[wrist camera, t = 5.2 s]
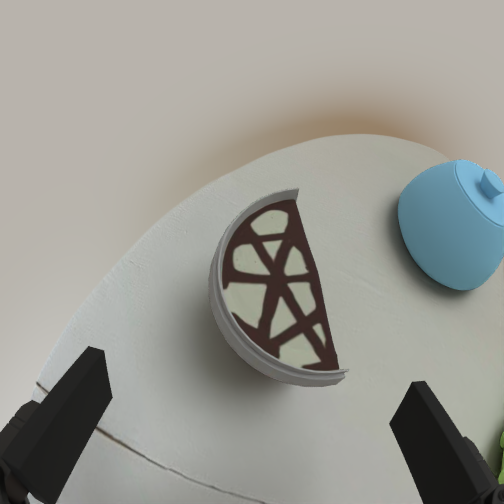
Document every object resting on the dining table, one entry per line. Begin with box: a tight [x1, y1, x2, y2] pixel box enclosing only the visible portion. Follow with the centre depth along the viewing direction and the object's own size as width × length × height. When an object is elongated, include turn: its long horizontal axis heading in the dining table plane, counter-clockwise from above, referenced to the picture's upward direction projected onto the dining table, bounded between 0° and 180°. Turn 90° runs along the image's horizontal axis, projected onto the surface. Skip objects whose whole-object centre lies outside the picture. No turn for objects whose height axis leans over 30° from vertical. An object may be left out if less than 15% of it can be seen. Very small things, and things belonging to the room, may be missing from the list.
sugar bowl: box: [398, 160, 504, 290], centre depth 25 cm, size 15×15×12 cm
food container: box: [209, 188, 349, 387], centre depth 19 cm, size 12×6×10 cm, turn 9°
